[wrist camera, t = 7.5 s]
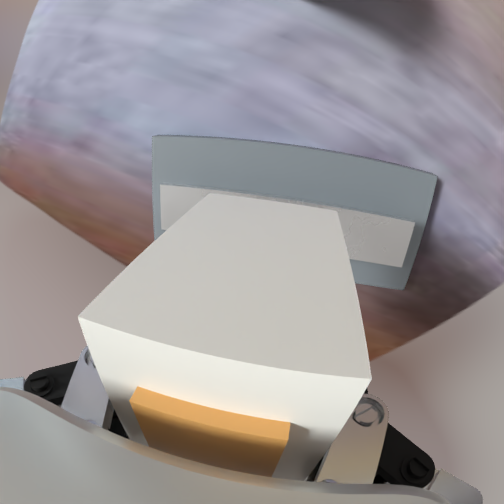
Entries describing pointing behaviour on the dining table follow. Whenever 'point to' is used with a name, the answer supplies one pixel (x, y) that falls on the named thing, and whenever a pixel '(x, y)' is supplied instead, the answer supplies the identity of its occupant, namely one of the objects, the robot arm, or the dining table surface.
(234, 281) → the block
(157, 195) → the mount plate
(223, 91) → the dining table surface
